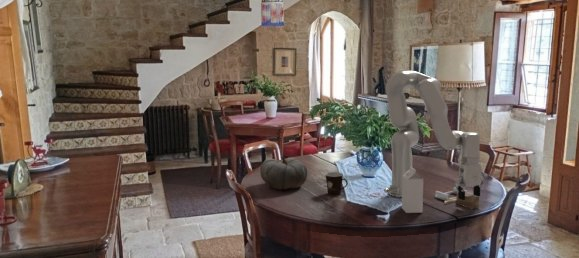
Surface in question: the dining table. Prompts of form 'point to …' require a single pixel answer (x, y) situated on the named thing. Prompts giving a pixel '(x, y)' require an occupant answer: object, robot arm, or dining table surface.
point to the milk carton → (412, 192)
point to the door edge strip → (450, 201)
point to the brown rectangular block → (469, 201)
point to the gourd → (283, 173)
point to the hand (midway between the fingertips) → (469, 197)
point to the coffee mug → (334, 183)
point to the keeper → (446, 194)
